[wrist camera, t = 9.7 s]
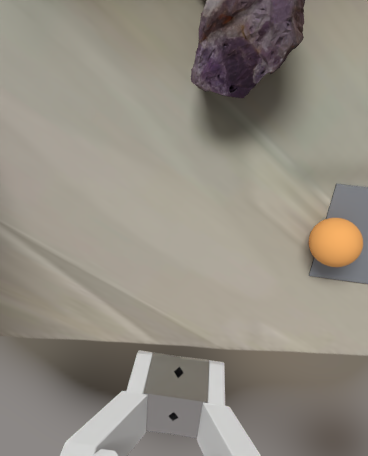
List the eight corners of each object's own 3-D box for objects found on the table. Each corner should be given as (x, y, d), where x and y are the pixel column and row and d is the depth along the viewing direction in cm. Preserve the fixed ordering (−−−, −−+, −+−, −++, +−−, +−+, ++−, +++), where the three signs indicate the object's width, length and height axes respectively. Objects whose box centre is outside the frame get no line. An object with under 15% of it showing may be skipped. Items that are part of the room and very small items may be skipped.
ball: (368, 274, 35) (338, 252, 40) (380, 227, 33) (347, 210, 38) (321, 278, 34) (296, 254, 39) (331, 229, 32) (303, 211, 37)
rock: (184, 75, 34) (281, 88, 34) (167, 94, 27) (288, 112, 27) (198, -76, 28) (320, -64, 27) (179, -101, 21) (343, -85, 20)
